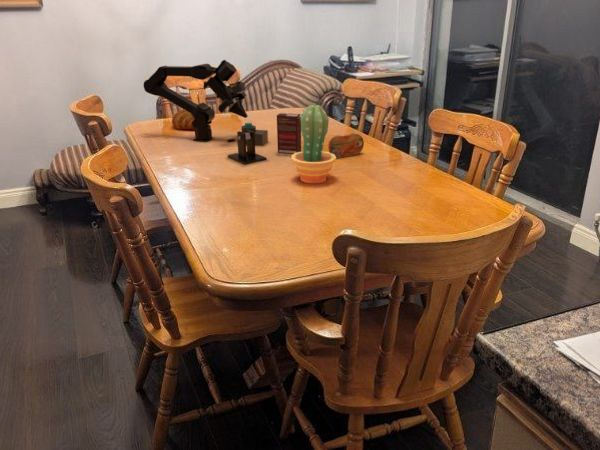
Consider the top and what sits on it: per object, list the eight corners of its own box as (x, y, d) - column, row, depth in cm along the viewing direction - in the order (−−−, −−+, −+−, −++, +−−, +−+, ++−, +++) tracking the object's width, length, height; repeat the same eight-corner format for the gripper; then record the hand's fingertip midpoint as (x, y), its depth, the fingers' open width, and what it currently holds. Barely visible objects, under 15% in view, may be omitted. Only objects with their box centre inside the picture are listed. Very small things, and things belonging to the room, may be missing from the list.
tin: (331, 159, 202) (331, 137, 199) (326, 157, 205) (327, 135, 201) (363, 154, 209) (364, 133, 205) (359, 152, 211) (360, 131, 208)
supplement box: (301, 153, 209) (301, 113, 203) (297, 157, 205) (297, 116, 199) (281, 151, 212) (280, 112, 206) (277, 155, 208) (276, 114, 201)
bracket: (227, 158, 204) (226, 130, 199) (249, 153, 210) (248, 126, 205) (244, 165, 195) (243, 137, 191) (266, 160, 201) (265, 132, 197)
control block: (239, 144, 221) (238, 128, 219) (245, 140, 228) (244, 124, 225) (262, 146, 219) (261, 130, 216) (268, 142, 225) (267, 126, 222)
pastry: (206, 129, 246) (205, 112, 243) (180, 132, 240) (178, 115, 236) (190, 120, 262) (188, 104, 259) (164, 124, 256) (163, 107, 252)
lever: (227, 144, 205) (226, 138, 205) (241, 141, 208) (239, 135, 208) (241, 140, 196) (240, 134, 196) (255, 137, 199) (253, 131, 199)
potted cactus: (337, 173, 187) (339, 102, 177) (333, 187, 173) (335, 111, 163) (295, 170, 189) (294, 100, 179) (287, 185, 175) (286, 110, 165)
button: (243, 128, 221) (243, 123, 220) (246, 126, 224) (246, 122, 223) (250, 128, 220) (250, 124, 219) (253, 126, 223) (253, 122, 222)
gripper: (223, 78, 207) (251, 108, 208) (241, 72, 223) (266, 99, 225) (206, 98, 212) (233, 127, 213) (224, 90, 228) (249, 117, 230)
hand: (246, 117), depth 220 cm, fingers closed
